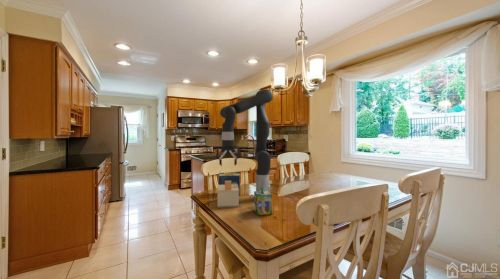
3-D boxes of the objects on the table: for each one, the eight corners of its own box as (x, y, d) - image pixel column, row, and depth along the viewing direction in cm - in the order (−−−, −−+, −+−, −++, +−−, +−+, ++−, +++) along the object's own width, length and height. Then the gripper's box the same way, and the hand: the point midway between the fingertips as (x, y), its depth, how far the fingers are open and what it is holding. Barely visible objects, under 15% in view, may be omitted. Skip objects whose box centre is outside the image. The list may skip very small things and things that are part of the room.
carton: (237, 199, 148) (237, 184, 148) (238, 206, 134) (238, 191, 133) (218, 199, 147) (218, 185, 147) (217, 207, 132) (217, 191, 132)
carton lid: (237, 185, 147) (237, 176, 147) (238, 191, 133) (238, 181, 133) (218, 185, 146) (218, 176, 146) (217, 191, 131) (217, 181, 131)
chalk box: (272, 214, 121) (272, 188, 121) (256, 215, 120) (256, 189, 119) (268, 208, 130) (268, 184, 130) (253, 209, 129) (253, 185, 128)
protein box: (218, 192, 164) (218, 172, 164) (239, 192, 166) (239, 172, 165) (218, 197, 154) (218, 175, 153) (239, 196, 155) (239, 175, 155)
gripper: (239, 138, 137) (239, 164, 137) (216, 139, 135) (216, 164, 136) (239, 139, 129) (239, 166, 130) (215, 139, 128) (216, 166, 128)
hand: (228, 165), depth 133 cm, fingers open, 8 cm apart
